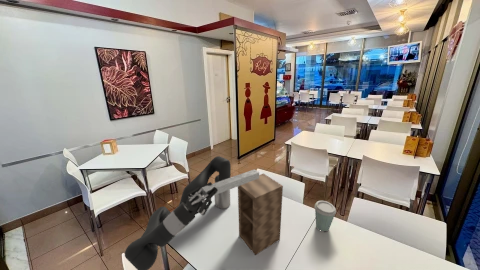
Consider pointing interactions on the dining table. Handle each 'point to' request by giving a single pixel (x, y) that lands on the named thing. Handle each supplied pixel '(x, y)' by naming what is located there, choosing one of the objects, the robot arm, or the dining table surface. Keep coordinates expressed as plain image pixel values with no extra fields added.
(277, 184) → the walnut shelf
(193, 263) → the dining table surface
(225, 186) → the metal bar
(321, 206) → the disposable coffee cup
